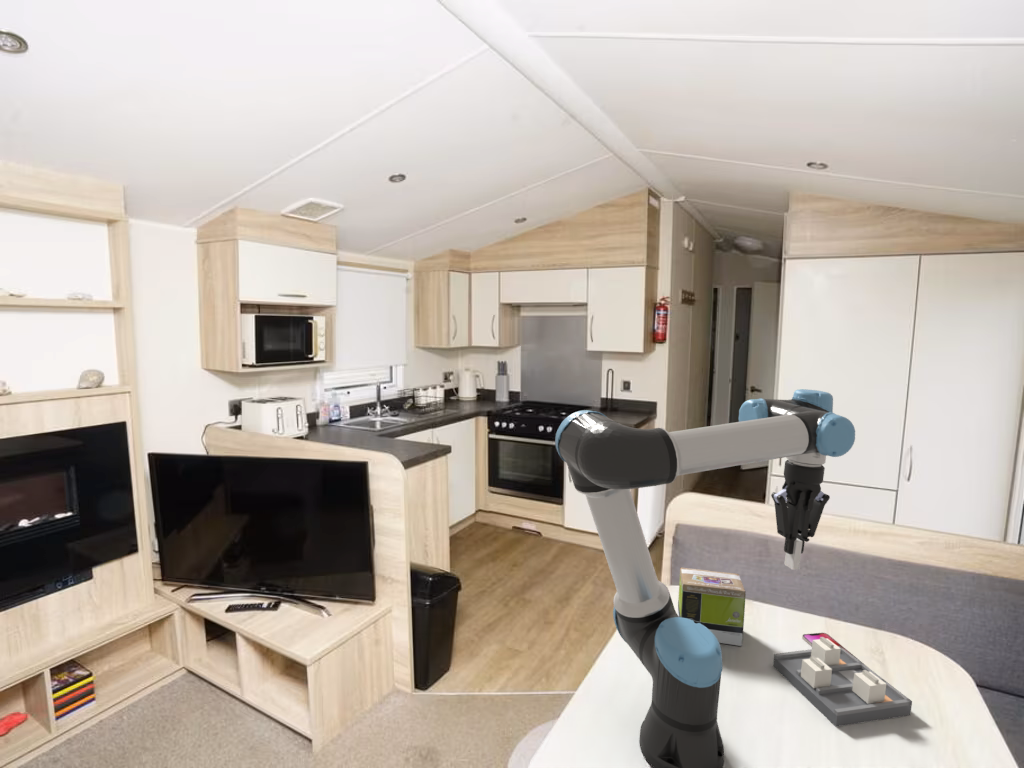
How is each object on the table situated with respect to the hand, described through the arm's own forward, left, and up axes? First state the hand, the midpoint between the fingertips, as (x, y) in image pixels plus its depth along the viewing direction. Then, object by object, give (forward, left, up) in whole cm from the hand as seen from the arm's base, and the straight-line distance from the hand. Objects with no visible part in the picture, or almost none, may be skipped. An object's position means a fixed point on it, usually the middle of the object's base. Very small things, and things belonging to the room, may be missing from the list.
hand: (791, 566), depth 120 cm
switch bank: (+11, -5, -27) cm, 29 cm away
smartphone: (+20, +6, -28) cm, 35 cm away
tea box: (-6, +20, -27) cm, 34 cm away
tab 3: (+12, -11, -25) cm, 30 cm away
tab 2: (+5, -5, -25) cm, 25 cm away
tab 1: (+12, +1, -25) cm, 27 cm away
